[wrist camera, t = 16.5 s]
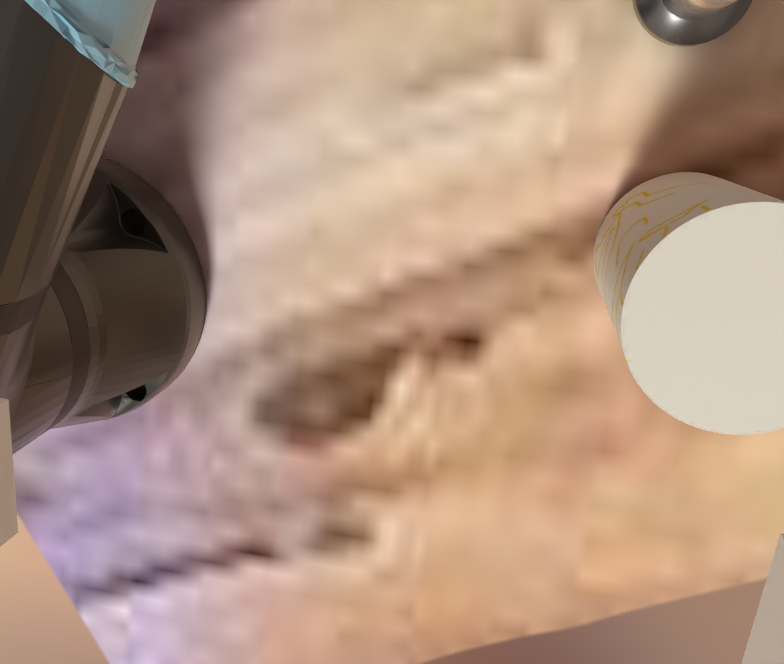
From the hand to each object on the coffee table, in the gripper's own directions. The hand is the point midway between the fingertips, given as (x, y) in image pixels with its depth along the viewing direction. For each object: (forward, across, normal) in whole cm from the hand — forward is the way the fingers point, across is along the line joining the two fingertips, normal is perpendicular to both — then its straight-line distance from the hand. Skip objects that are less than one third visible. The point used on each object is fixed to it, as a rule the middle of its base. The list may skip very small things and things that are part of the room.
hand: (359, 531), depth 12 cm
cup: (+27, +10, +1) cm, 29 cm away
